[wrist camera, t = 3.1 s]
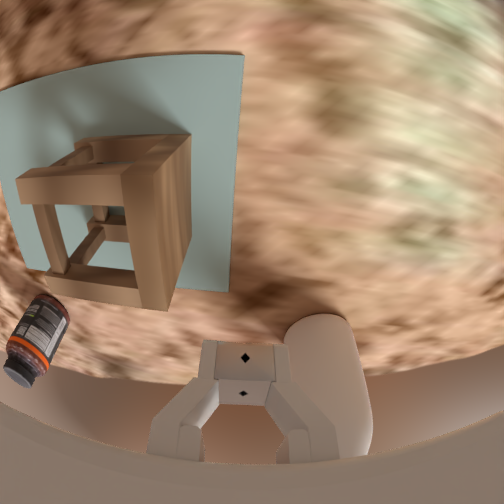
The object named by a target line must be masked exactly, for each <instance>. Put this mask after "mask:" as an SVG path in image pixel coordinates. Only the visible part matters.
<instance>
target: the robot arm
mask: <svg viewBox="0 0 504 504" xmlns="http://www.w3.org/2000/svg"><path fill="white" fill-rule="evenodd" d="M219 404H242V405H260V406H265V408H266V410H267V411H268V412H269V414H270V416H271V417H272V418H273V420H274V422H275V423H276V425H277V426H278V427H279V429H280V430H281V432H282V433H283V434H284V436H285V439H284V441H283V442H282V444H281V446H280V447H279V449H278V450H277V452H276V464H265V465H264V464H261V465H260V464H259V465H258V464H257V465H255V464H226V463H212V462H204V459H205V448H204V442H203V438H202V431H201V429H200V428H201V427H202V426H203V425H204V423H205V422H206V421H207V420H208V418H209V417H210V416H211V414H212V413H213V412H214V411H215V409H216V408H217V407H218V405H219ZM0 504H504V411H500V412H498V413H496V414H493V415H491V416H489V417H487V418H485V419H482V420H480V421H478V422H476V423H473V424H471V425H468V426H466V427H463V428H461V429H458V430H455V431H452V432H450V433H447V434H444V435H441V436H438V437H435V438H432V439H429V440H426V441H422V442H419V443H415V444H412V445H408V446H404V447H400V448H396V449H393V450H388V451H384V452H378V453H373V454H368V455H363V456H357V457H351V458H344V459H340V456H339V449H338V442H337V436H336V430H335V426H334V425H333V423H332V422H331V421H330V420H329V419H328V418H327V417H326V416H325V415H324V414H323V412H322V411H321V410H320V409H319V408H318V407H317V406H316V405H315V404H314V402H313V401H312V400H311V399H310V398H309V397H308V396H307V394H306V393H305V392H304V391H303V390H302V389H301V388H300V386H299V385H298V384H297V383H296V382H292V379H291V370H290V360H289V352H288V346H287V344H270V343H236V342H225V341H214V340H203V343H202V350H201V357H200V364H199V372H198V378H193V379H192V380H191V381H190V382H189V383H188V384H187V385H186V386H185V387H184V388H183V389H182V390H181V391H180V392H179V393H178V394H177V395H176V396H175V397H174V398H173V399H172V400H171V401H170V402H169V403H168V404H167V405H166V406H165V407H164V408H163V409H162V410H161V411H160V412H159V413H158V414H157V415H156V416H155V417H154V418H153V419H152V425H151V430H150V435H149V440H148V446H147V452H146V453H142V452H138V451H133V450H129V449H124V448H120V447H116V446H112V445H109V444H105V443H102V442H98V441H95V440H91V439H88V438H85V437H82V436H79V435H76V434H73V433H70V432H67V431H65V430H62V429H59V428H57V427H54V426H52V425H49V424H46V423H44V422H42V421H39V420H37V419H35V418H32V417H30V416H28V415H26V414H24V413H22V412H19V411H17V410H15V409H13V408H11V407H9V406H7V405H5V404H4V403H2V402H0Z"/></svg>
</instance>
